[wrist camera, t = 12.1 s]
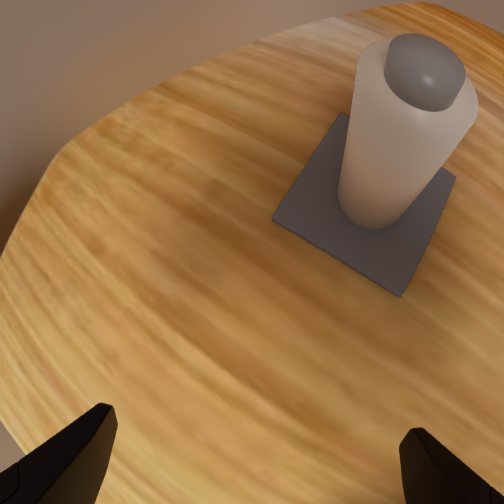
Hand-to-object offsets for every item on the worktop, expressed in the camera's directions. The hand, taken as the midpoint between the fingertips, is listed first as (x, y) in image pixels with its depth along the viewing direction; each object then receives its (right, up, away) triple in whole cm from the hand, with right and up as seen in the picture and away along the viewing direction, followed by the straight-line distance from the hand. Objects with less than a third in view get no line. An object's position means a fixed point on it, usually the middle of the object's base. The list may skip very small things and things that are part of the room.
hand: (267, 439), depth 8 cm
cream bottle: (+8, +9, +12) cm, 17 cm away
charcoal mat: (+8, +9, +13) cm, 18 cm away
